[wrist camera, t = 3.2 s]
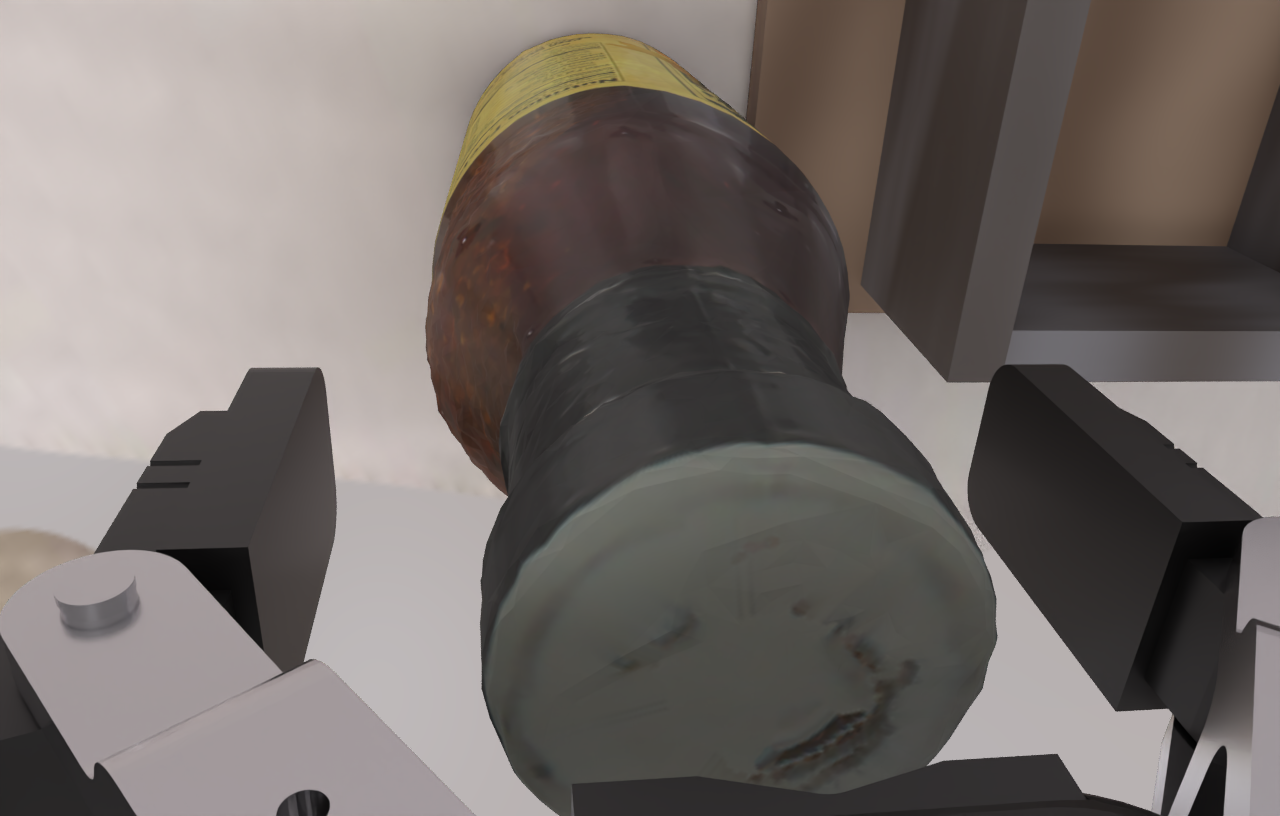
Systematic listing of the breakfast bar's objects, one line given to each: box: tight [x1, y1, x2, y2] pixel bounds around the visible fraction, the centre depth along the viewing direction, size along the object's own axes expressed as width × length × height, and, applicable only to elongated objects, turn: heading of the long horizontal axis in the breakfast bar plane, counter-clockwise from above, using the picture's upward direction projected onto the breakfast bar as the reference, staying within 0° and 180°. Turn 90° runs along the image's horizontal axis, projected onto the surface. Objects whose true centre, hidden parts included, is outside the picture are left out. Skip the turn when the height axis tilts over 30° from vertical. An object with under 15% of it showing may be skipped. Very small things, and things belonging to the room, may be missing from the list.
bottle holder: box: [746, 0, 1280, 382], centre depth 22 cm, size 18×14×7 cm
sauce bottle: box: [425, 34, 997, 816], centre depth 17 cm, size 7×6×20 cm
